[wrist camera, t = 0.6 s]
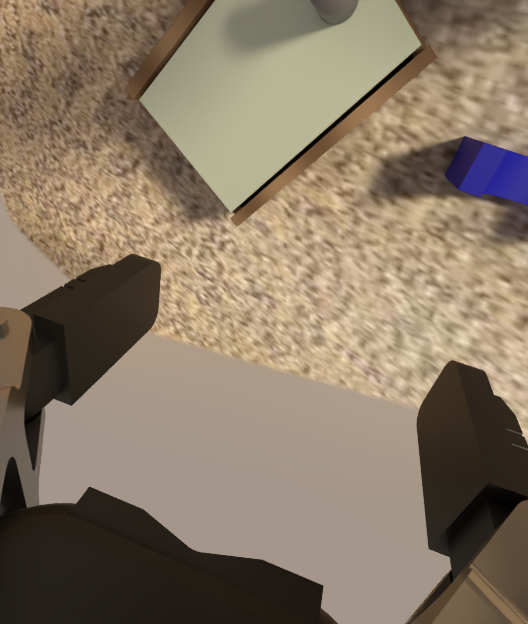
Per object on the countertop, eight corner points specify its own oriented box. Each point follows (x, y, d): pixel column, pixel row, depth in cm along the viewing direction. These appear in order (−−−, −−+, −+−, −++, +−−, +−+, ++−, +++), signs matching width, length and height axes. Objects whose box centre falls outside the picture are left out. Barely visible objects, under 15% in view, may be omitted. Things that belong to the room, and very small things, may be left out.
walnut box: (323, -95, 24) (306, -162, 18) (422, 68, 27) (437, 57, 21) (172, 92, 32) (124, 89, 26) (261, 205, 35) (237, 226, 29)
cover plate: (318, -123, 20) (298, -202, 15) (419, 46, 22) (433, 28, 17) (145, 100, 27) (93, 98, 22) (234, 209, 29) (205, 231, 24)
